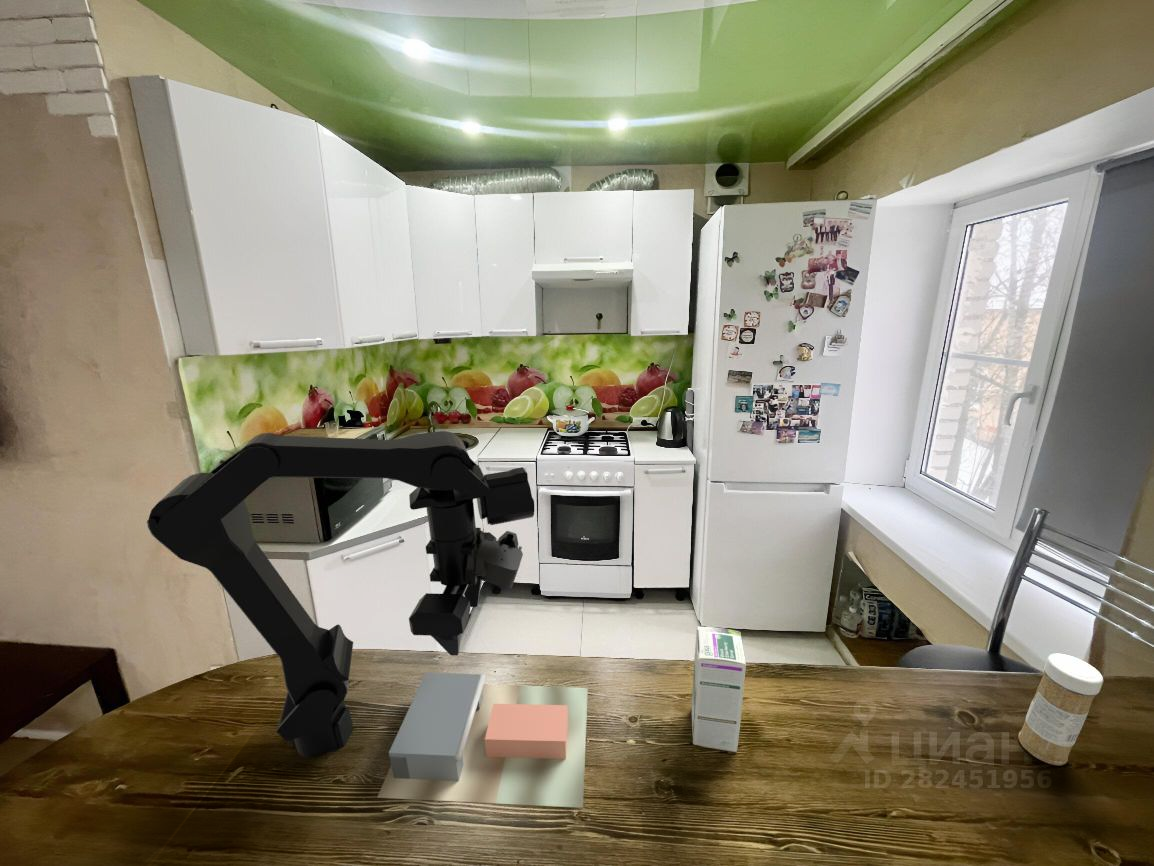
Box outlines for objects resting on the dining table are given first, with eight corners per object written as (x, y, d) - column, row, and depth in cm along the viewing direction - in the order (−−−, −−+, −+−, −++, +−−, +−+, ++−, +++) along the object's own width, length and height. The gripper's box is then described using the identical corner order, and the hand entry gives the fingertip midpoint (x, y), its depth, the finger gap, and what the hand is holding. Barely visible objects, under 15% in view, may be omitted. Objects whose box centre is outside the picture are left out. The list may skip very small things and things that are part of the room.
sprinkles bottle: (1040, 731, 60) (1073, 650, 56) (1078, 766, 55) (1117, 681, 51) (1006, 733, 60) (1037, 652, 55) (1041, 768, 55) (1078, 683, 51)
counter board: (378, 803, 53) (377, 797, 53) (428, 687, 68) (427, 682, 68) (583, 813, 51) (582, 807, 51) (587, 693, 67) (587, 687, 66)
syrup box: (738, 754, 58) (749, 664, 53) (690, 745, 59) (698, 657, 54) (732, 714, 63) (742, 629, 58) (689, 707, 64) (695, 623, 60)
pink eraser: (486, 756, 57) (484, 739, 56) (495, 720, 62) (493, 703, 61) (565, 758, 56) (565, 741, 56) (568, 722, 61) (567, 705, 60)
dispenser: (393, 778, 55) (388, 752, 53) (429, 695, 66) (425, 672, 64) (464, 781, 54) (460, 755, 53) (488, 697, 65) (485, 674, 64)
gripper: (499, 575, 49) (508, 687, 54) (527, 497, 66) (532, 587, 71) (398, 574, 49) (417, 684, 54) (452, 497, 67) (463, 585, 72)
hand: (464, 628), depth 63 cm, fingers open, 9 cm apart
